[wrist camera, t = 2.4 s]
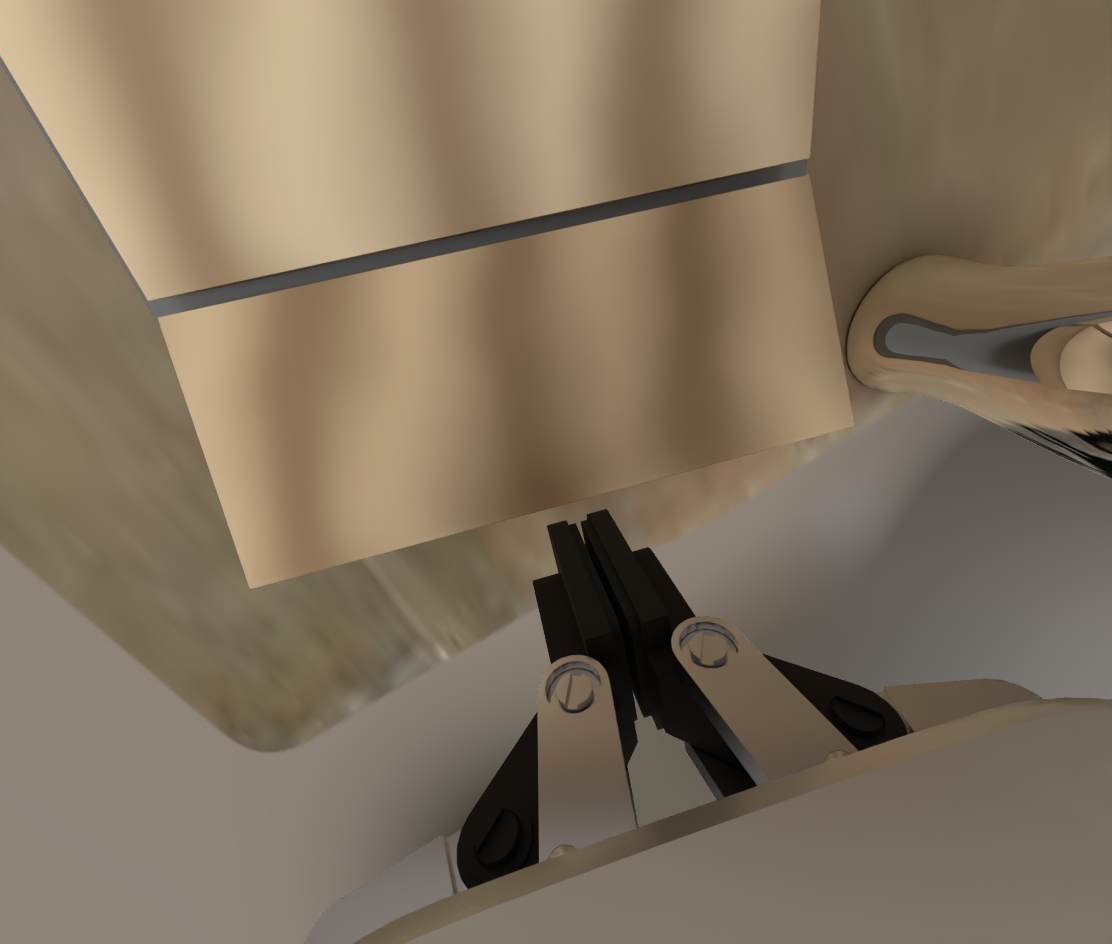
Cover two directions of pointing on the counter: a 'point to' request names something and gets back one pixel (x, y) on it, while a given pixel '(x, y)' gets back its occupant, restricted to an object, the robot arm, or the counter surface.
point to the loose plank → (511, 376)
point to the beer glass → (998, 346)
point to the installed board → (395, 116)
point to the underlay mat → (440, 246)
